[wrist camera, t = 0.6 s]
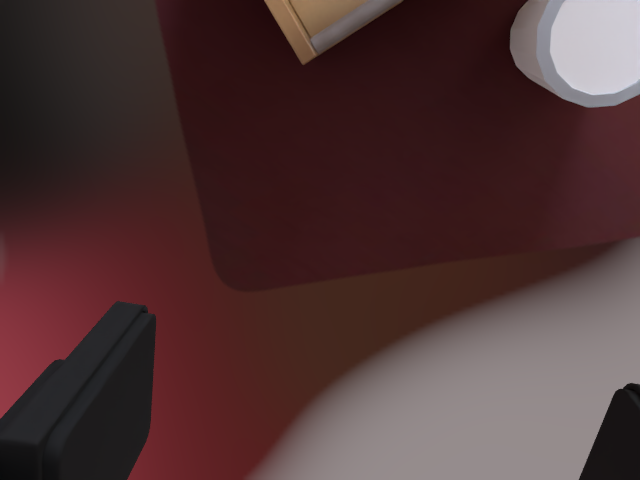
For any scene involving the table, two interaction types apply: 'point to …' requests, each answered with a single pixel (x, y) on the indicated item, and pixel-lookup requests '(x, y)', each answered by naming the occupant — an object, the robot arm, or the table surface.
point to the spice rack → (323, 21)
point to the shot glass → (580, 48)
